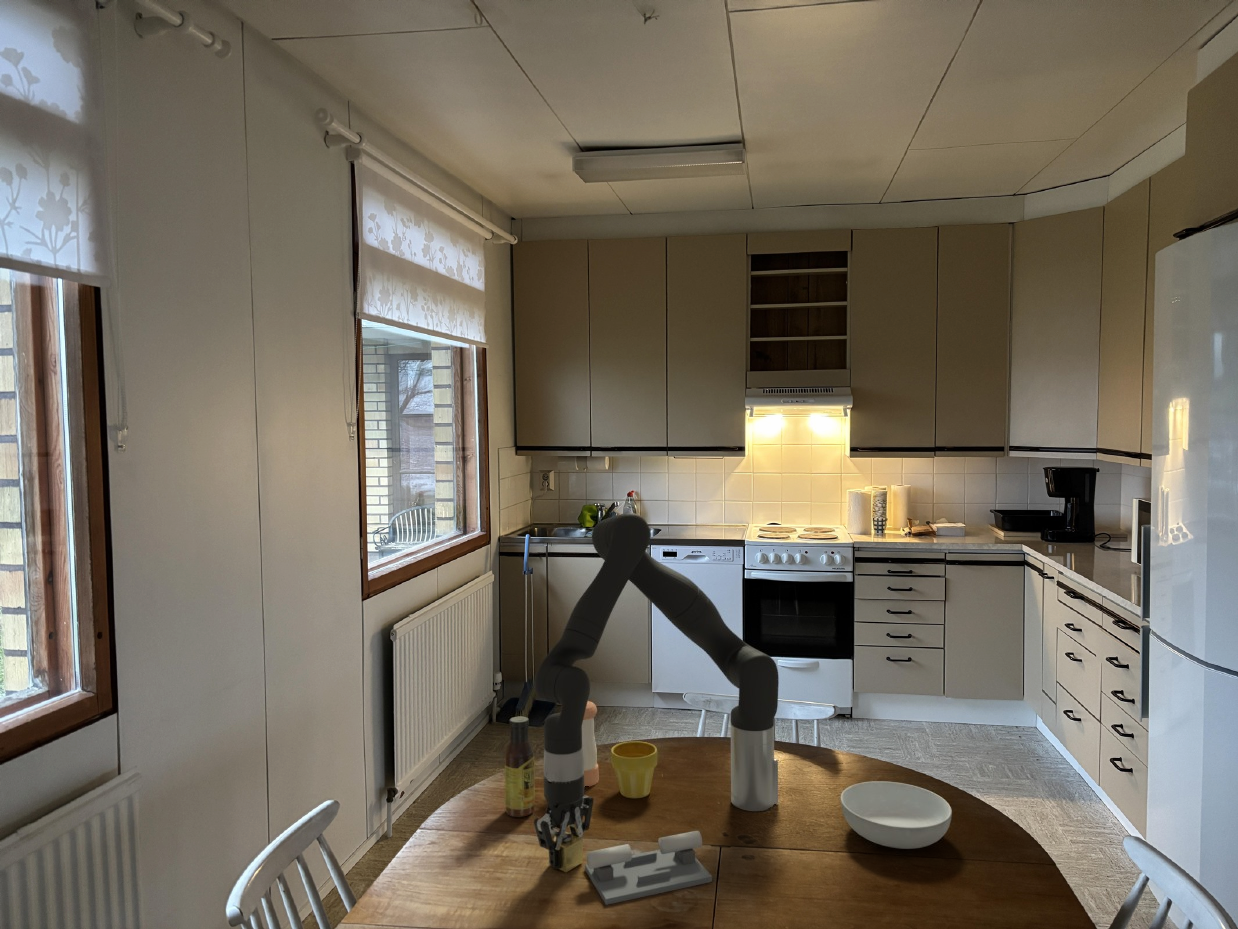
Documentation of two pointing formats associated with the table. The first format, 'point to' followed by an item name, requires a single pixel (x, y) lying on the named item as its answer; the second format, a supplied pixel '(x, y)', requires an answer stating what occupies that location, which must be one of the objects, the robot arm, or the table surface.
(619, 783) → the plant pot
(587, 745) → the pepper shaker
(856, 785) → the serving bowl
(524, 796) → the sauce bottle
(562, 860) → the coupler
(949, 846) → the table surface
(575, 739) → the robot arm
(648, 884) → the twin roller base
